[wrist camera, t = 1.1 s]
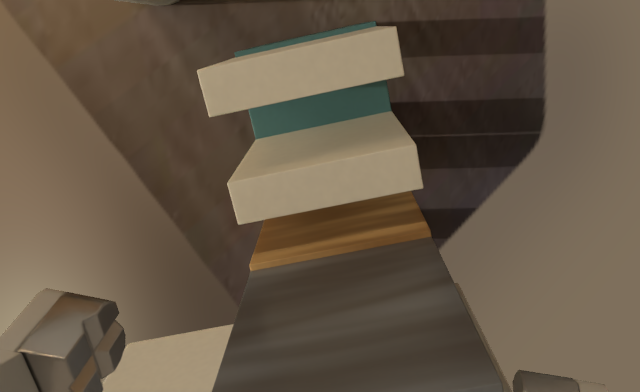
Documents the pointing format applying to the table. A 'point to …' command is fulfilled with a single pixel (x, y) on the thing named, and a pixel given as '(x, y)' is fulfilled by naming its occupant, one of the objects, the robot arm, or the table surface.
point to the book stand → (353, 308)
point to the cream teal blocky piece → (315, 121)
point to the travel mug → (153, 2)
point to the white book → (197, 361)
